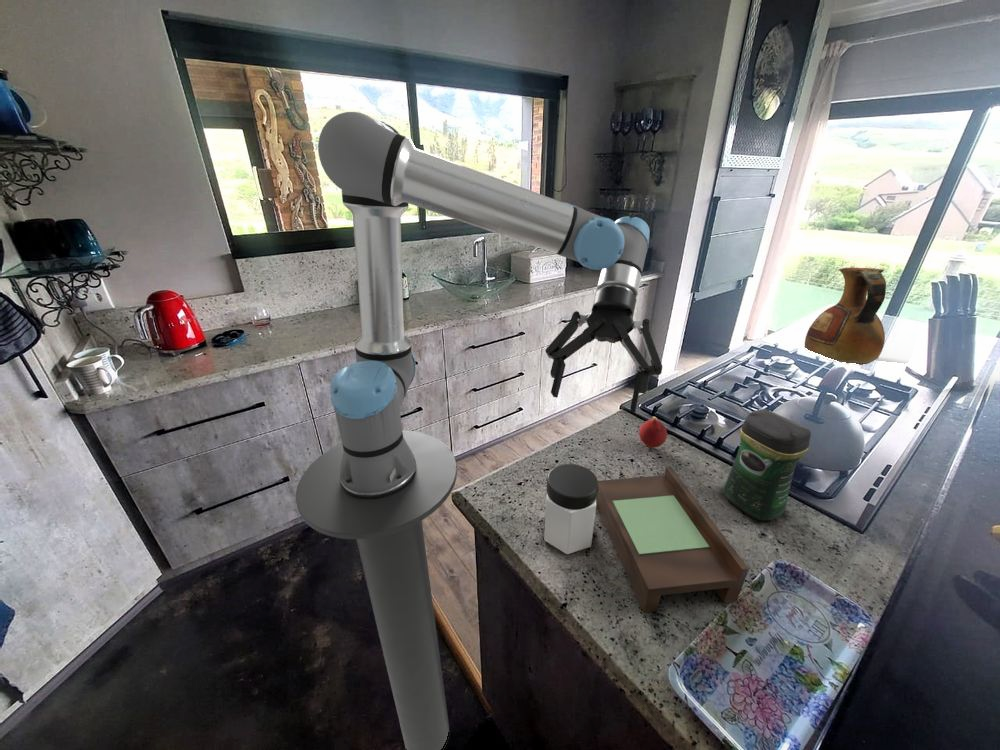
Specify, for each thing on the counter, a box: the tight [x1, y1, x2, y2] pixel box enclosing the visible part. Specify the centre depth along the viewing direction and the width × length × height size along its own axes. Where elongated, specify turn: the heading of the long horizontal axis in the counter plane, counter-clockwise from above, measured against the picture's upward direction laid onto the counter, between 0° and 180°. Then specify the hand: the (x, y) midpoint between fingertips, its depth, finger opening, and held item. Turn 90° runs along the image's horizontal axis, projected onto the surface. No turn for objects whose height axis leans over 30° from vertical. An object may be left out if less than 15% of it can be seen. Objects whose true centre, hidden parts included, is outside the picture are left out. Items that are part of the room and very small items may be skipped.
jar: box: [543, 463, 599, 555], centre depth 67 cm, size 9×8×12 cm
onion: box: [638, 416, 668, 449], centre depth 90 cm, size 6×6×8 cm
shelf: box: [596, 466, 750, 613], centre depth 66 cm, size 22×14×7 cm, turn 6°
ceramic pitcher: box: [804, 266, 887, 366], centre depth 127 cm, size 20×20×30 cm
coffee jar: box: [722, 408, 812, 522], centre depth 71 cm, size 10×8×19 cm
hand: (592, 402), depth 69 cm, fingers open, 13 cm apart
